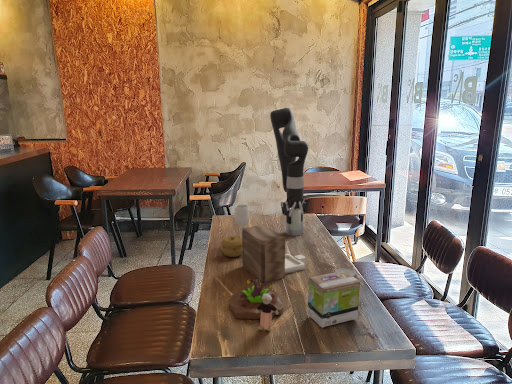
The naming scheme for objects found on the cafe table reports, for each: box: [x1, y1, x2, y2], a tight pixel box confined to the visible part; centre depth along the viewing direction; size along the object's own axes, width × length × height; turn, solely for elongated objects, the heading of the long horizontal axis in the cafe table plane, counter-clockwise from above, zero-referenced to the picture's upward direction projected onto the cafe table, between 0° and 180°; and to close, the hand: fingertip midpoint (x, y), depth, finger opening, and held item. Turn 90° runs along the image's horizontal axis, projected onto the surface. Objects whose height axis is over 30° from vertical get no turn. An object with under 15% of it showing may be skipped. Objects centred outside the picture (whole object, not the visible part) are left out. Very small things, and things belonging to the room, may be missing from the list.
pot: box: [220, 235, 243, 258], centre depth 187 cm, size 12×12×10 cm
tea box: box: [306, 271, 361, 329], centre depth 131 cm, size 15×10×15 cm
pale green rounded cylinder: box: [289, 208, 301, 230], centre depth 169 cm, size 5×5×9 cm
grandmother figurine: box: [255, 294, 279, 331], centre depth 125 cm, size 8×4×13 cm, turn 90°
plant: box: [229, 278, 284, 320], centre depth 140 cm, size 20×20×11 cm
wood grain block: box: [242, 224, 286, 284], centre depth 167 cm, size 11×19×18 cm, turn 28°
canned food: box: [335, 267, 357, 279], centre depth 144 cm, size 8×8×11 cm
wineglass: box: [233, 204, 251, 238], centre depth 201 cm, size 9×9×21 cm
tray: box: [285, 253, 307, 275], centre depth 175 cm, size 16×14×3 cm
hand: (294, 222), depth 170 cm, fingers closed on pale green rounded cylinder, 5 cm apart
